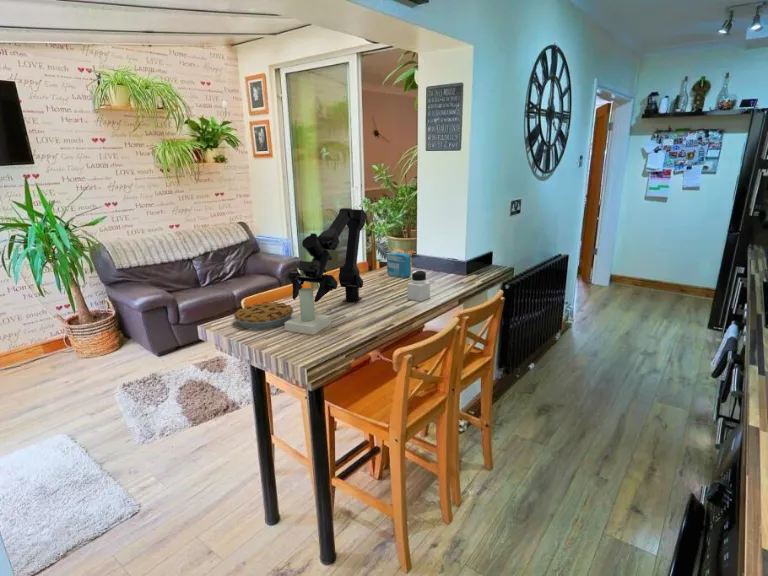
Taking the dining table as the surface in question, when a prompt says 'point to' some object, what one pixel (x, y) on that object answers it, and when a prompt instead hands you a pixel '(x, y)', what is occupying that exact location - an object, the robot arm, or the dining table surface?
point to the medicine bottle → (418, 287)
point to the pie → (264, 315)
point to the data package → (398, 265)
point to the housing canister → (306, 304)
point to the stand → (308, 324)
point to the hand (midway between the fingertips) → (304, 300)
